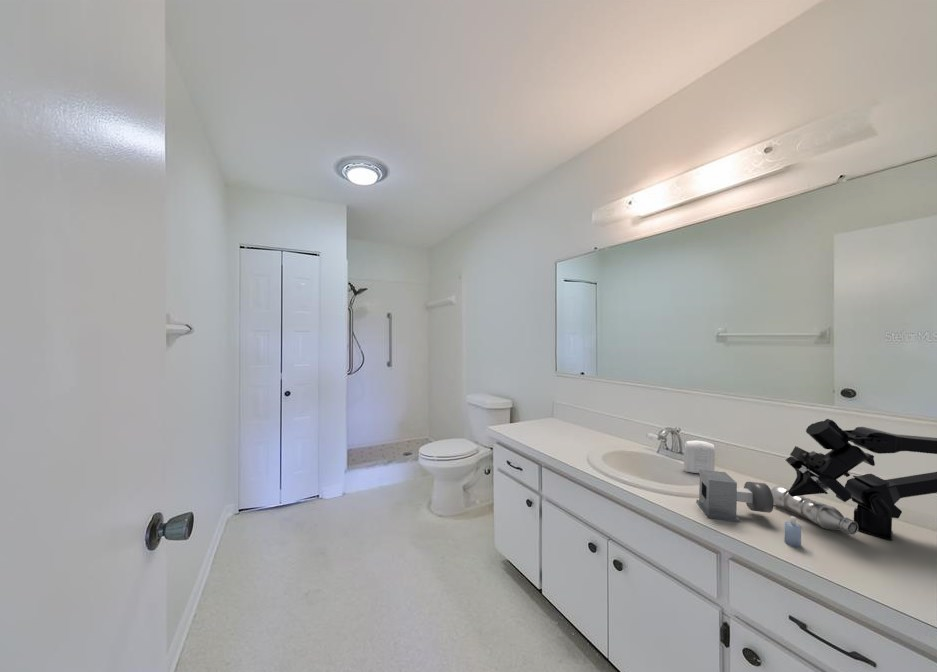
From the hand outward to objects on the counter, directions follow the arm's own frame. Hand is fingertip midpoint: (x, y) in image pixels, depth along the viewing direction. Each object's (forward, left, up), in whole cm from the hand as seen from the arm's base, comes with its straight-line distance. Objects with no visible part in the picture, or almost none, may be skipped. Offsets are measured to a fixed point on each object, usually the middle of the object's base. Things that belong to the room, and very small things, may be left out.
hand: (789, 494), depth 102 cm
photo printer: (+29, -19, -8) cm, 36 cm away
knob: (+10, +7, -6) cm, 13 cm away
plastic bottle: (+5, -11, -5) cm, 13 cm away
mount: (+15, +10, -8) cm, 20 cm away
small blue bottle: (-3, +14, -8) cm, 16 cm away
